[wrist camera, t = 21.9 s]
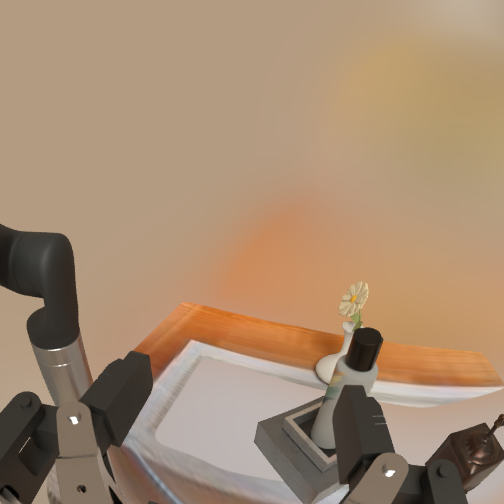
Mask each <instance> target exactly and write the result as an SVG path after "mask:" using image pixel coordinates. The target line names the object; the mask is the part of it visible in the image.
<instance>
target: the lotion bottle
mask: <svg viewBox="0 0 504 504" xmlns="http://www.w3.org/2000/svg"><path fill="white" fill-rule="evenodd" d="M382 343H383V338H382V337H381V334H380V332H379V331H377V330H375V329H373V328H367V327H366V328H357V329H356V330H355V331H354V333H353V336H352V339H351V342H350V346H349V349H348V351H347V354H346V355H343V356H341V357H340V358H339V359H338V361H337V363H336V366H335V368H334V371H333V374H332V377H331V380H330V383H329V386H328V388H327V391H326V394H325V397H324V399H323V402H322V405H321V407H320V410H319V412H318V415H317V417H316V420H315V422H314V425H313V427H312V430H311V439H312V441H313V442H314V443H315V444H316V445H317V446H319V447H321V448H324V449H334V448H335V440H334V432H333V424H332V416H333V411H334V408H335V406H336V403H337V401H338V399H339V396H340V394H341V391H342V389H343V387H344V385H363V386H364V388H365V392H366V395H367V397H368V395H369V393H370V391H371V388H372V386H373V384H374V382H375V379H376V377H377V374H378V367H377V365H376V363H375V362H376V359H377V357H378V354H379V351H380V349H381V346H382Z"/></svg>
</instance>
